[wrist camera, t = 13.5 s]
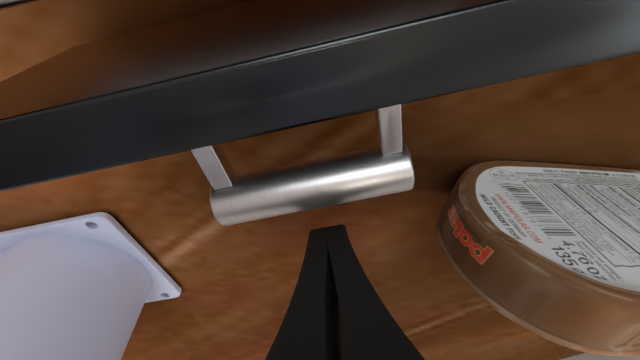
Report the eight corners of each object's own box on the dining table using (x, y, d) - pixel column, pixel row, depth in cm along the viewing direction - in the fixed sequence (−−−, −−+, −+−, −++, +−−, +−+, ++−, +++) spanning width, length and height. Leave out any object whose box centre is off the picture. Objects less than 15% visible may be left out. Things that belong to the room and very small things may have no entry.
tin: (411, 193, 16) (491, 371, 9) (431, 142, 14) (552, 323, 7) (652, 204, 18) (861, 360, 11) (700, 161, 16) (989, 320, 9)
